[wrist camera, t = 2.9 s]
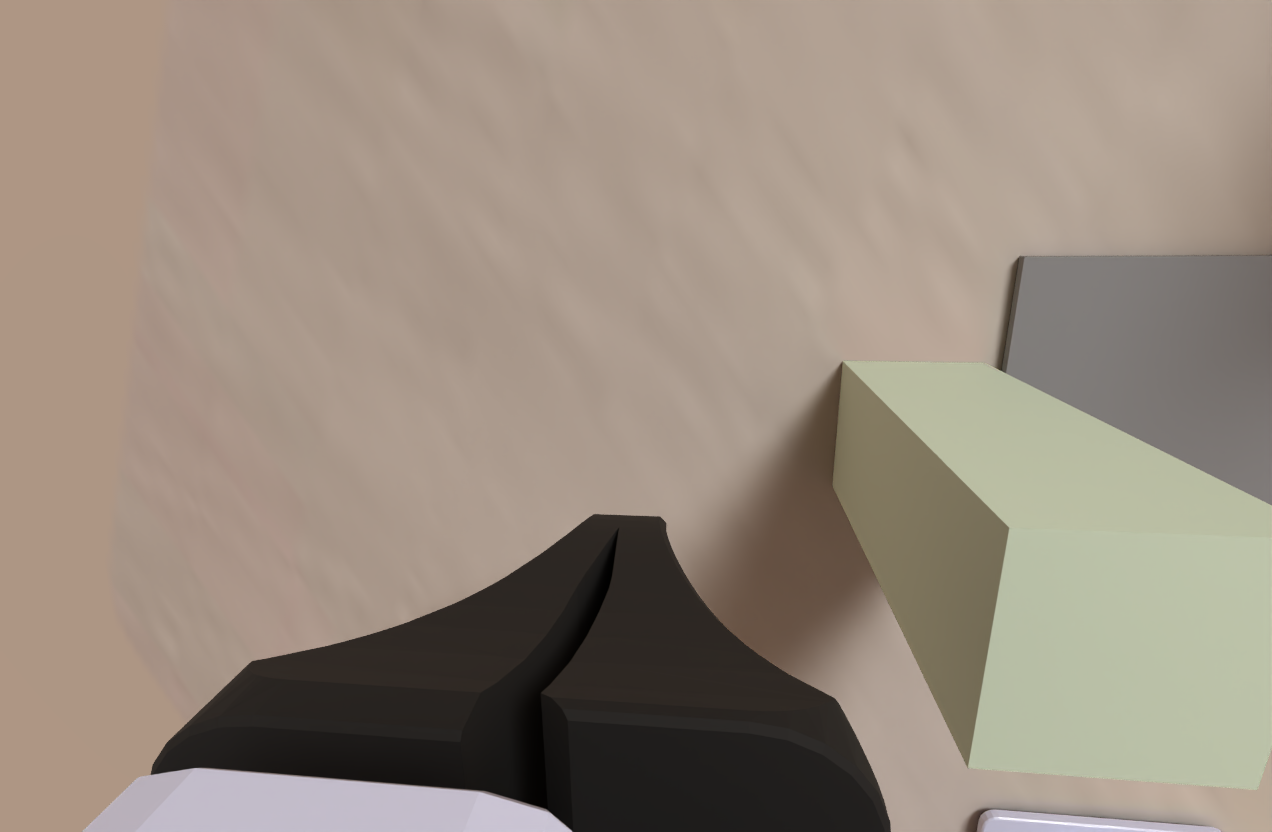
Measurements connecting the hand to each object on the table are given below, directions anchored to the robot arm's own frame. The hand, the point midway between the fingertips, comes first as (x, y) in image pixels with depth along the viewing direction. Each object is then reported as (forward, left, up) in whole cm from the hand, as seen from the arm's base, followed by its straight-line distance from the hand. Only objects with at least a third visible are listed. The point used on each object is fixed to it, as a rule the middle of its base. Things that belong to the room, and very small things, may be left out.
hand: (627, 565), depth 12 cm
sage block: (0, -7, -9) cm, 12 cm away
